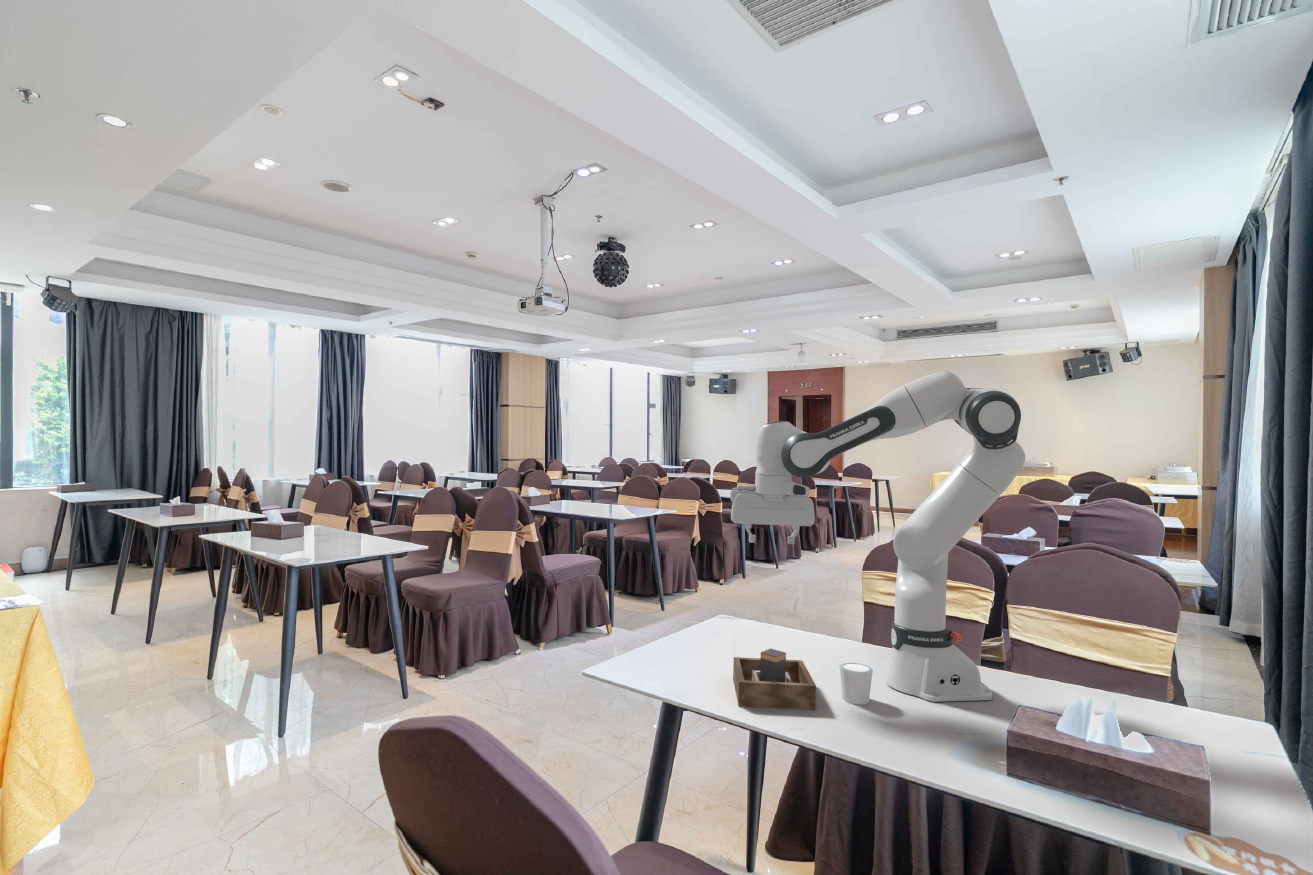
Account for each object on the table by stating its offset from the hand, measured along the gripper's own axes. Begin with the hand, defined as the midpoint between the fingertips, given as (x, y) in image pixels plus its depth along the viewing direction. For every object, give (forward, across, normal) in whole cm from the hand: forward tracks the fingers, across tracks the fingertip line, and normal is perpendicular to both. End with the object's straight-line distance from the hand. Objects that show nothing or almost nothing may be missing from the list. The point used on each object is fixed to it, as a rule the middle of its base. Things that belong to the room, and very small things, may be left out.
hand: (771, 543), depth 155 cm
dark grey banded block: (+30, -1, -15) cm, 34 cm away
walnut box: (+31, -1, -15) cm, 34 cm away
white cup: (+31, +17, -16) cm, 39 cm away
